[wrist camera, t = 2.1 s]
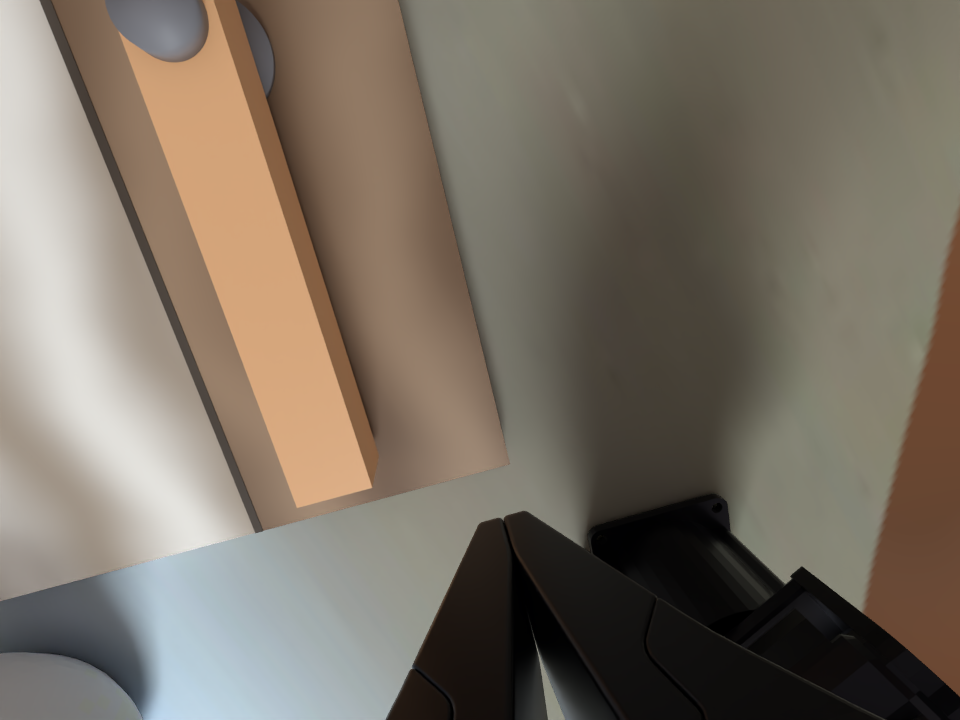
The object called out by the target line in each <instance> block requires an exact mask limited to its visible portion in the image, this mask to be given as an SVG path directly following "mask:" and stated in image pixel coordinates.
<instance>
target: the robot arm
mask: <svg viewBox="0 0 960 720" xmlns="http://www.w3.org/2000/svg"><path fill="white" fill-rule="evenodd" d="M715 503H717V505H716V507H714V508H712V506H713V505H714V504H715ZM504 524H505V525H504ZM600 535H604V536H603V538H602V539H600V540H596V539H597V537H598V536H600ZM588 541H589V546H590V551H591V553H590V552H588V551H587V550H585V549H584V548H582V547H581V546H579V545H578V544H576V543H575V542H573V541H572V540H570V539H568V538H567V537H565V536H564V535H562V534H561V533H559V532H558V531H556V530H555V529H553V528H552V527H550V526H549V525H547V524H545V523H544V522H542V521H541V520H539V519H538V518H536V517H535V516H533V515H532V514H530V513H529V512H527V511H521V512H518V513H514V514H510V515H507V516H505V517H504V521H503V520H502V519H501V518H496V519H492V520H488V521H485V522H481V523H480V524H479V525H478V527H477V529H476V531H475V533H474V536H473V538H472V540H471V542H470V544H469V546H468V548H467V550H466V553H465V555H464V557H463V559H462V561H461V563H460V565H459V567H458V570H457V572H456V574H455V576H454V578H453V580H452V582H451V584H450V587H449V589H448V591H447V593H446V595H445V597H444V599H443V601H442V603H441V606H440V608H439V610H438V612H437V614H436V616H435V618H434V620H433V623H432V625H431V627H430V629H429V631H428V633H427V635H426V637H425V640H424V642H423V644H422V646H421V648H420V650H419V652H418V654H417V657H416V659H415V661H414V663H413V665H412V669H411V670H410V671H409V673H408V675H407V677H406V679H405V682H404V684H403V686H402V688H401V690H400V692H399V694H398V696H397V698H396V700H395V702H394V704H393V706H392V708H391V710H390V712H389V714H388V716H387V718H386V720H548V717H547V710H546V703H545V696H544V689H543V682H542V675H541V669H540V663H539V657H538V652H537V648H538V651H539V654H540V657H541V660H542V663H543V665H544V668H545V670H546V673H547V675H548V678H549V680H550V683H551V685H552V688H553V690H554V693H555V695H556V698H557V700H558V703H559V705H560V708H561V710H562V712H563V715H564V717H565V720H960V697H959V696H958V695H957V694H956V693H955V692H954V691H953V690H952V689H951V688H949V686H948V685H946V684H945V683H944V682H943V681H942V680H941V679H940V678H939V677H937V675H936V674H934V673H933V672H932V671H931V670H930V669H929V668H928V667H927V666H926V665H924V664H923V663H922V662H921V661H920V660H919V659H917V658H916V657H915V656H914V655H913V654H912V653H911V652H910V651H909V650H907V649H906V648H905V647H904V646H903V645H902V644H900V643H899V642H898V641H897V640H896V639H895V638H893V637H892V636H891V635H890V634H888V633H887V632H886V631H885V630H883V629H882V628H881V627H880V626H878V625H877V624H876V623H875V622H873V621H872V620H871V619H869V618H868V617H867V616H866V615H864V614H863V613H862V612H860V611H859V610H858V609H857V608H855V607H854V606H853V605H851V604H850V603H849V602H847V601H846V600H845V599H844V598H842V597H841V596H840V595H838V594H837V593H836V592H834V591H833V590H832V589H831V588H829V587H828V586H827V585H825V584H824V583H823V582H822V581H820V580H819V579H818V578H816V577H815V576H814V575H812V574H811V573H810V572H809V571H807V570H806V569H805V568H803V567H800V568H799V569H798V570H797V571H796V572H794V573H793V574H792V575H791V576H790V577H791V578H792V579H791V580H790V581H789V582H788V583H786V584H784V583H783V582H782V581H781V580H780V579H779V578H778V577H777V576H776V575H775V574H774V573H773V572H772V571H771V570H770V569H769V568H768V567H767V566H766V565H764V564H763V563H762V562H761V561H760V560H759V559H758V558H757V557H756V556H755V555H754V554H753V553H752V552H751V551H750V550H749V549H748V548H747V547H746V546H745V545H743V544H742V543H741V542H740V541H739V540H738V539H737V538H736V537H735V536H734V535H733V534H732V533H731V531H730V522H729V514H728V505H727V502H726V501H725V500H724V499H723V498H722V497H721V496H719V495H718V494H709V495H705V496H702V497H698V498H695V499H691V500H687V501H684V502H680V503H677V504H673V505H669V506H666V507H662V508H659V509H655V510H651V511H648V512H644V513H641V514H637V515H633V516H630V517H626V518H623V519H619V520H615V521H612V522H608V523H605V524H601V525H597V526H595V527H593V528H592V529H591V530H590V531H589V533H588ZM530 623H531V624H530ZM533 634H534V635H533ZM534 638H535V639H534ZM535 641H536V644H535ZM536 645H537V648H536Z"/></svg>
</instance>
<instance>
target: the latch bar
mask: <svg viewBox="0 0 960 720" xmlns="http://www.w3.org/2000/svg"><path fill="white" fill-rule="evenodd" d="M105 4H106V8H107V11H108V14H109V16H110V19H111V20H112V22H113V24H114V25H115V27H116V28H117V30H118V31H119V34H120V37H121V39H122V42H123V45H124V47H125V50H126V53H127V55H128V58H129V61H130V63H131V66H132V69H133V71H134V74H135V77H136V79H137V82H138V85H139V87H140V90H141V93H142V95H143V98H144V101H145V104H146V106H147V109H148V112H149V114H150V117H151V120H152V122H153V125H154V128H155V130H156V133H157V136H158V138H159V141H160V144H161V146H162V149H163V152H164V154H165V157H166V160H167V162H168V165H169V168H170V170H171V173H172V176H173V178H174V181H175V184H176V186H177V189H178V192H179V194H180V197H181V200H182V202H183V205H184V208H185V210H186V213H187V216H188V218H189V221H190V224H191V226H192V229H193V232H194V234H195V237H196V240H197V242H198V245H199V248H200V250H201V253H202V256H203V258H204V261H205V264H206V266H207V269H208V272H209V274H210V277H211V280H212V282H213V285H214V288H215V290H216V293H217V296H218V299H219V301H220V304H221V307H222V309H223V312H224V315H225V317H226V320H227V323H228V325H229V328H230V331H231V333H232V336H233V339H234V341H235V344H236V347H237V349H238V352H239V355H240V357H241V360H242V363H243V365H244V368H245V371H246V373H247V376H248V379H249V381H250V384H251V387H252V389H253V392H254V395H255V397H256V400H257V403H258V405H259V408H260V411H261V413H262V416H263V419H264V421H265V424H266V427H267V429H268V432H269V435H270V437H271V440H272V443H273V445H274V448H275V451H276V453H277V456H278V459H279V461H280V464H281V467H282V469H283V472H284V475H285V477H286V480H287V483H288V485H289V488H290V491H291V494H292V496H293V499H294V502H295V504H296V507H297V508H299V507H303V506H307V505H310V504H314V503H318V502H321V501H325V500H329V499H333V498H336V497H340V496H344V495H348V494H351V493H355V492H359V491H363V490H366V489H370V488H372V487H373V482H374V477H375V473H376V468H377V463H378V458H379V454H378V451H377V448H376V444H375V441H374V438H373V435H372V432H371V429H370V425H369V422H368V419H367V416H366V413H365V410H364V406H363V403H362V400H361V397H360V394H359V391H358V387H357V384H356V381H355V378H354V375H353V372H352V368H351V365H350V362H349V359H348V356H347V353H346V349H345V346H344V343H343V340H342V337H341V334H340V330H339V327H338V324H337V321H336V318H335V315H334V311H333V308H332V305H331V302H330V299H329V296H328V292H327V289H326V286H325V283H324V280H323V277H322V273H321V270H320V267H319V264H318V261H317V258H316V254H315V251H314V248H313V245H312V242H311V239H310V235H309V232H308V229H307V226H306V223H305V220H304V216H303V213H302V210H301V207H300V204H299V201H298V197H297V194H296V191H295V188H294V185H293V182H292V178H291V175H290V172H289V169H288V166H287V162H286V159H285V156H284V153H283V150H282V147H281V143H280V140H279V137H278V134H277V131H276V128H275V124H274V121H273V118H272V115H271V112H270V109H269V105H268V102H267V99H266V96H265V93H264V90H263V86H262V83H261V80H260V77H259V74H258V71H257V67H256V64H255V61H254V58H253V55H252V52H251V48H250V45H249V42H248V39H247V36H246V33H245V29H244V26H243V23H242V20H241V17H240V14H239V10H238V7H237V4H236V1H235V0H105Z"/></svg>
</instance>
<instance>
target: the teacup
mask: <svg viewBox="0 0 960 720" xmlns="http://www.w3.org/2000/svg"><path fill="white" fill-rule="evenodd" d="M0 720H143V719H142V716H141V714H140V712H139V711H138V709H137V707H136V705H135V704H134V702H133V701H132V699H131V698H130V697H129V696H128V695H127V693H126V692H125V691H124V690H123V689H122V688H121V687H120V686H119V685H118V684H117V683H116V682H115V681H114V680H113V679H111V678H110V677H109V676H108V675H107V674H106V673H104V672H102V671H101V670H99V669H97V668H96V667H94V666H92V665H90V664H88V663H86V662H83V661H80V660H78V659H75V658H71V657H67V656H63V655H55V654H45V653H29V652H7V653H0Z"/></svg>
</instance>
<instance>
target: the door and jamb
mask: <svg viewBox="0 0 960 720" xmlns="http://www.w3.org/2000/svg"><path fill="white" fill-rule="evenodd" d="M235 1H236V4H237V7H238V10H239V14H240V17H241V20H242V23H243V26H244V29H245V33H246V36H247V39H248V42H249V45H250V48H251V52H252V55H253V58H254V61H255V64H256V67H257V71H258V74H259V77H260V80H261V83H262V86H263V90H264V93H265V96H266V99H267V102H268V105H269V109H270V112H271V115H272V118H273V121H274V124H275V128H276V131H277V134H278V137H279V140H280V143H281V147H282V150H283V153H284V156H285V159H286V162H287V166H288V169H289V172H290V175H291V178H292V182H293V185H294V188H295V191H296V194H297V197H298V201H299V204H300V207H301V210H302V213H303V216H304V220H305V223H306V226H307V229H308V232H309V235H310V239H311V242H312V245H313V248H314V251H315V254H316V258H317V261H318V264H319V267H320V270H321V273H322V277H323V280H324V283H325V286H326V289H327V292H328V296H329V299H330V302H331V305H332V308H333V311H334V315H335V318H336V321H337V324H338V327H339V330H340V334H341V337H342V340H343V343H344V346H345V349H346V353H347V356H348V359H349V362H350V365H351V368H352V372H353V375H354V378H355V381H356V384H357V387H358V391H359V394H360V397H361V400H362V403H363V406H364V410H365V413H366V416H367V419H368V422H369V425H370V429H371V432H372V435H373V438H374V441H375V444H376V448H377V451H378V454H379V458H378V463H377V468H376V473H375V477H374V482H373V487H372V488H370V489H366V490H363V491H359V492H355V493H351V494H348V495H344V496H340V497H336V498H333V499H329V500H325V501H321V502H318V503H314V504H310V505H307V506H303V507H299V508H297V507H296V504H295V502H294V499H293V496H292V494H291V491H290V488H289V485H288V483H287V480H286V477H285V475H284V472H283V469H282V467H281V464H280V461H279V459H278V456H277V453H276V451H275V448H274V445H273V443H272V440H271V437H270V435H269V432H268V429H267V427H266V424H265V421H264V419H263V416H262V413H261V411H260V408H259V405H258V403H257V400H256V397H255V395H254V392H253V389H252V387H251V384H250V381H249V379H248V376H247V373H246V371H245V368H244V365H243V363H242V360H241V357H240V355H239V352H238V349H237V347H236V344H235V341H234V339H233V336H232V333H231V331H230V328H229V325H228V323H227V320H226V317H225V315H224V312H223V309H222V307H221V304H220V301H219V299H218V296H217V293H216V290H215V288H214V285H213V282H212V280H211V277H210V274H209V272H208V269H207V266H206V264H205V261H204V258H203V256H202V253H201V250H200V248H199V245H198V242H197V240H196V237H195V234H194V232H193V229H192V226H191V224H190V221H189V218H188V216H187V213H186V210H185V208H184V205H183V202H182V200H181V197H180V194H179V192H178V189H177V186H176V184H175V181H174V178H173V176H172V173H171V170H170V168H169V165H168V162H167V160H166V157H165V154H164V152H163V149H162V146H161V144H160V141H159V138H158V136H157V133H156V130H155V128H154V125H153V122H152V120H151V117H150V114H149V112H148V109H147V106H146V104H145V101H144V98H143V95H142V93H141V90H140V87H139V85H138V82H137V79H136V77H135V74H134V71H133V69H132V66H131V63H130V61H129V58H128V55H127V53H126V50H125V47H124V45H123V42H122V39H121V37H120V34H119V31H118V30H117V28H116V27H115V25H114V24H113V22H112V20H111V19H110V16H109V14H108V11H107V8H106V4H105V0H0V601H4V600H7V599H11V598H15V597H18V596H22V595H26V594H30V593H33V592H37V591H41V590H44V589H48V588H52V587H56V586H59V585H63V584H67V583H70V582H74V581H78V580H82V579H85V578H89V577H93V576H96V575H100V574H104V573H108V572H111V571H115V570H119V569H122V568H126V567H130V566H134V565H137V564H141V563H145V562H148V561H152V560H156V559H160V558H163V557H167V556H171V555H174V554H178V553H182V552H186V551H189V550H193V549H197V548H200V547H204V546H208V545H212V544H215V543H219V542H223V541H226V540H230V539H234V538H238V537H241V536H245V535H249V534H252V533H258V532H262V531H264V530H267V529H271V528H275V527H278V526H282V525H286V524H290V523H293V522H297V521H301V520H304V519H308V518H312V517H316V516H319V515H323V514H327V513H330V512H334V511H338V510H342V509H345V508H349V507H353V506H356V505H360V504H364V503H368V502H371V501H375V500H379V499H382V498H386V497H390V496H394V495H397V494H401V493H405V492H408V491H412V490H416V489H420V488H423V487H427V486H431V485H434V484H438V483H442V482H446V481H449V480H453V479H457V478H460V477H464V476H468V475H472V474H475V473H479V472H483V471H486V470H490V469H494V468H498V467H501V466H505V465H509V464H510V462H509V458H508V454H507V450H506V446H505V441H504V437H503V433H502V429H501V425H500V421H499V417H498V412H497V408H496V404H495V400H494V396H493V392H492V388H491V383H490V379H489V375H488V371H487V367H486V363H485V359H484V354H483V350H482V346H481V342H480V338H479V334H478V329H477V325H476V321H475V317H474V313H473V309H472V305H471V300H470V296H469V292H468V288H467V284H466V280H465V276H464V271H463V267H462V263H461V259H460V255H459V251H458V247H457V242H456V238H455V234H454V230H453V226H452V222H451V218H450V213H449V209H448V205H447V201H446V197H445V193H444V188H443V184H442V180H441V176H440V172H439V168H438V164H437V159H436V155H435V151H434V147H433V143H432V139H431V135H430V130H429V126H428V122H427V118H426V114H425V110H424V106H423V101H422V97H421V93H420V89H419V85H418V81H417V77H416V72H415V68H414V64H413V60H412V56H411V52H410V47H409V43H408V39H407V35H406V31H405V27H404V23H403V18H402V14H401V10H400V6H399V2H398V0H235Z"/></svg>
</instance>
